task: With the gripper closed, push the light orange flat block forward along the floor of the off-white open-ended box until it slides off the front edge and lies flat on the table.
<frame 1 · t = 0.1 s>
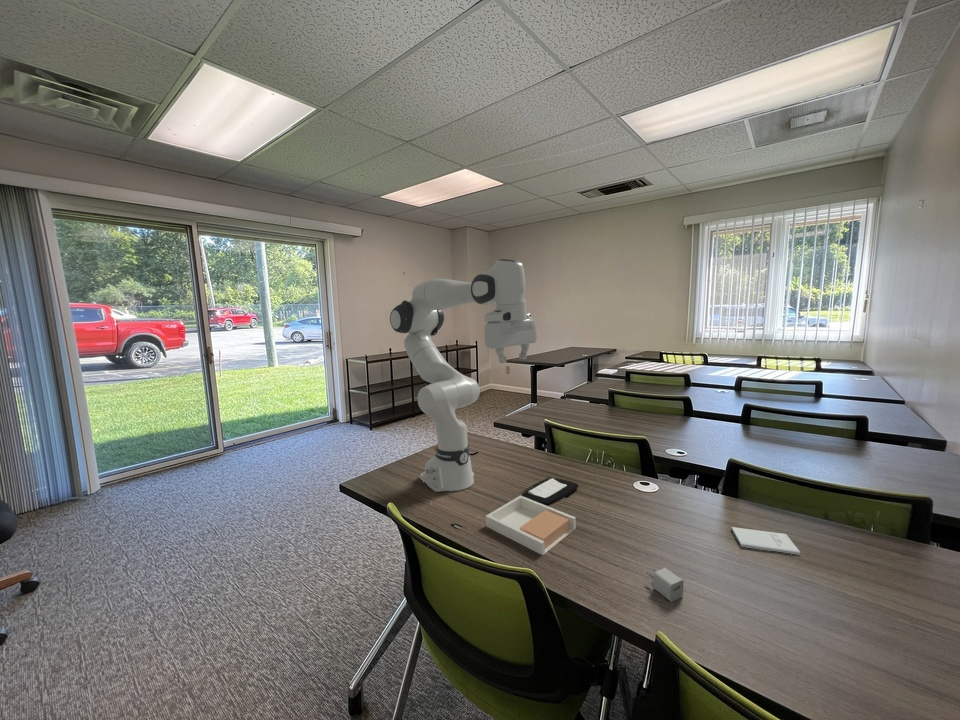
hand: (513, 360, 113), 48 cm above the table, tool pointing down, fingers open, 8 cm apart
external hard drive: (763, 544, 98), on the table
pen: (476, 536, 107), on the table
open box: (530, 529, 108), on the table
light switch: (548, 494, 130), on the table
usb wall charger: (663, 589, 83), on the table
light orange flat block: (544, 533, 104), point 1 cm above the table, touching open box
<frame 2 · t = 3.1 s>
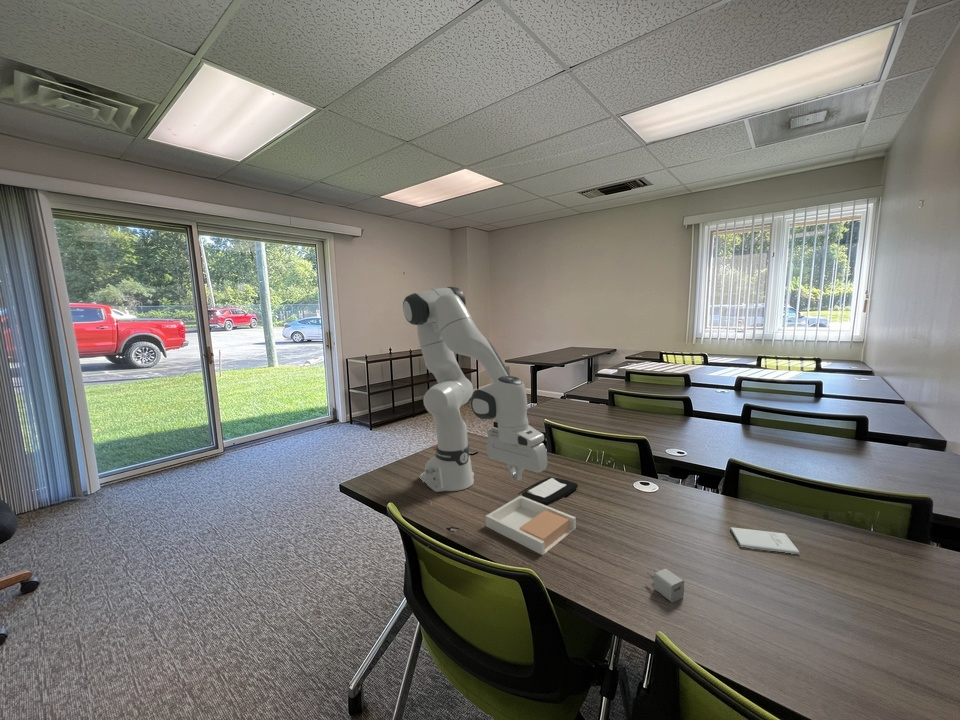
hand: (516, 478, 109), 14 cm above the table, tool pointing down, fingers closed
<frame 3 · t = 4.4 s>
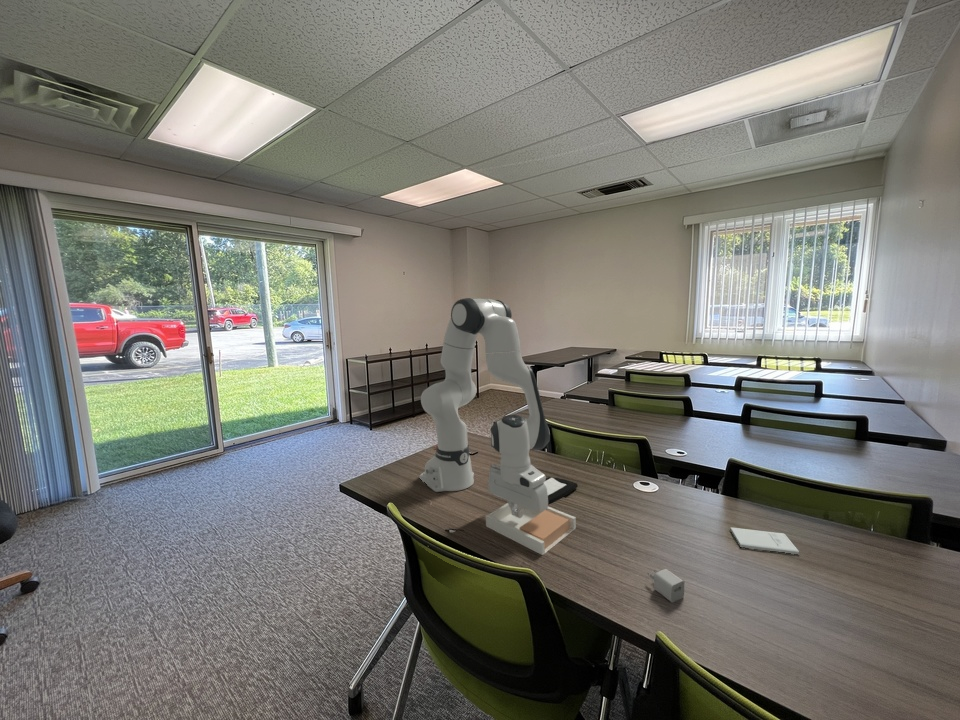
hand: (517, 516, 111), 2 cm above the table, tool pointing down, fingers closed
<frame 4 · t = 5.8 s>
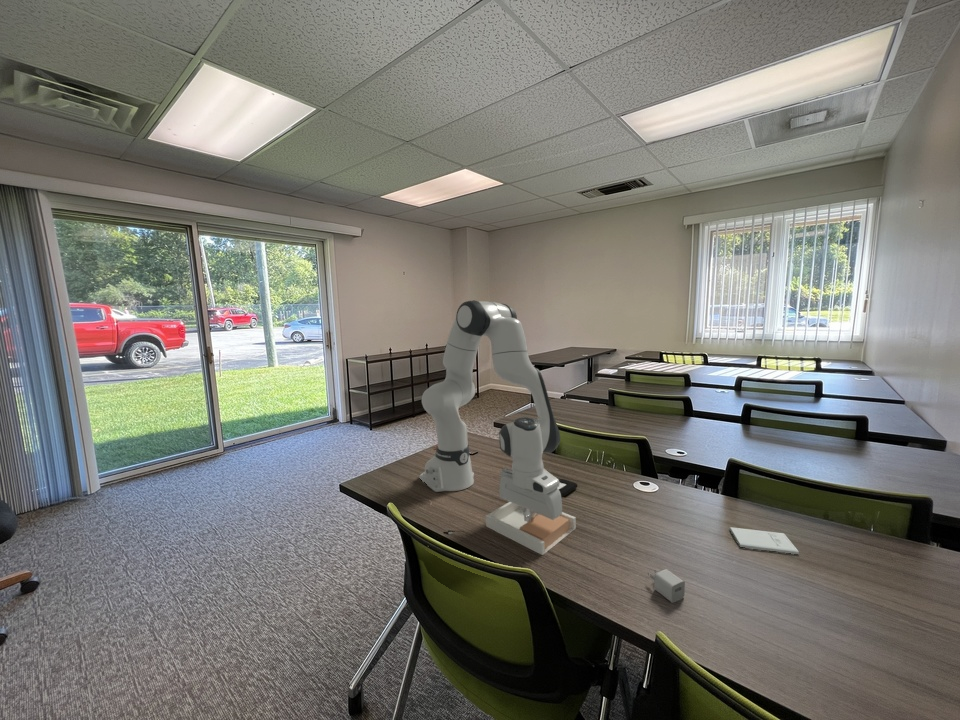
hand: (529, 521, 108), 2 cm above the table, tool pointing down, fingers closed
light orange flat block: (544, 533, 104), point 1 cm above the table, touching gripper
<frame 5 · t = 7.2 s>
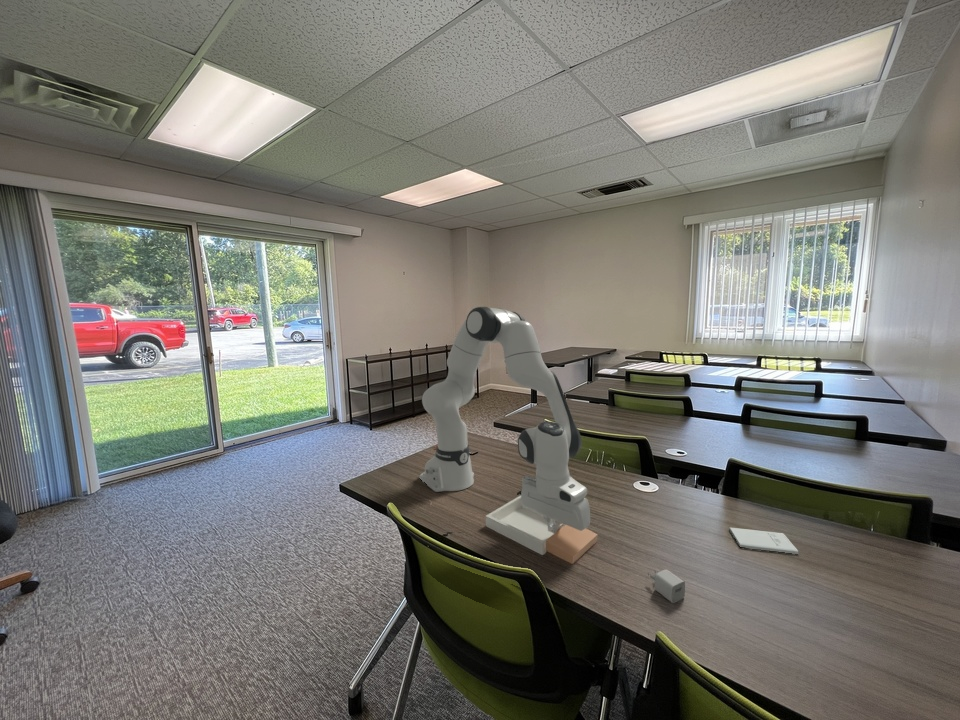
hand: (554, 532, 102), 2 cm above the table, tool pointing down, fingers closed
light orange flat block: (571, 547, 98), on the table, tilted 7°, touching gripper
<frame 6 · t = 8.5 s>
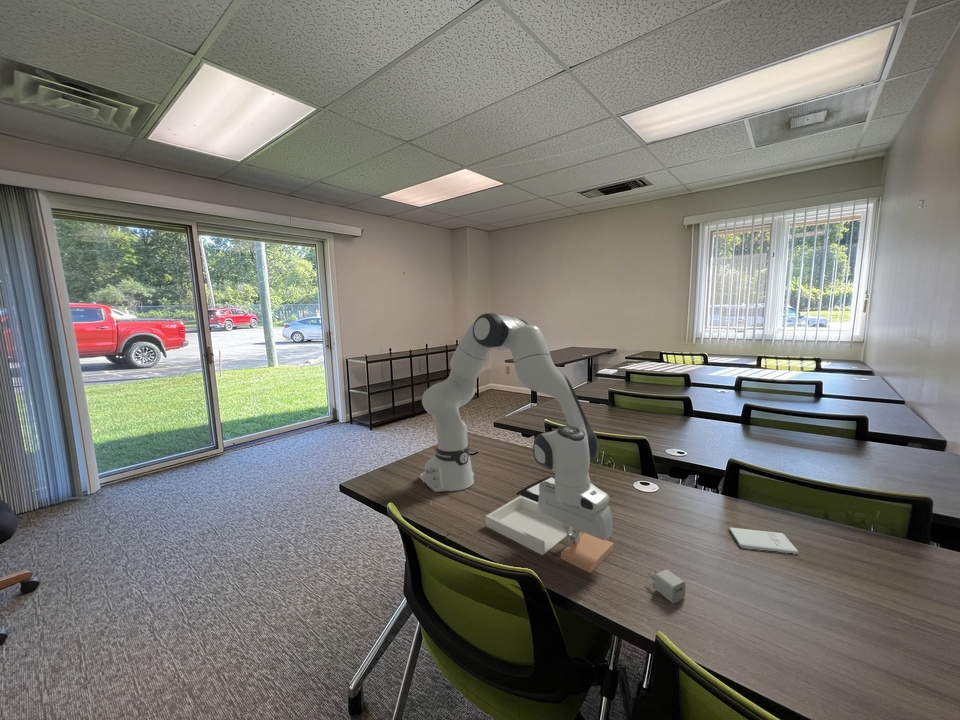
hand: (573, 540, 98), 2 cm above the table, tool pointing down, fingers closed
light orange flat block: (587, 558, 95), on the table, touching gripper
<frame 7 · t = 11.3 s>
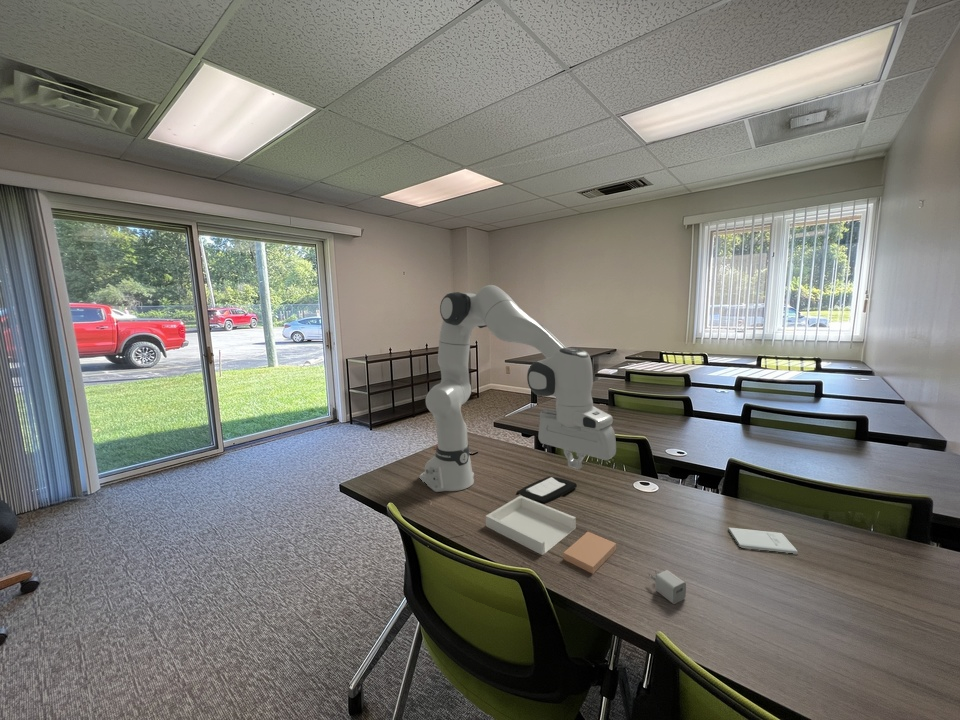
hand: (574, 467, 94), 23 cm above the table, tool pointing down, fingers closed
light orange flat block: (590, 558, 95), on the table
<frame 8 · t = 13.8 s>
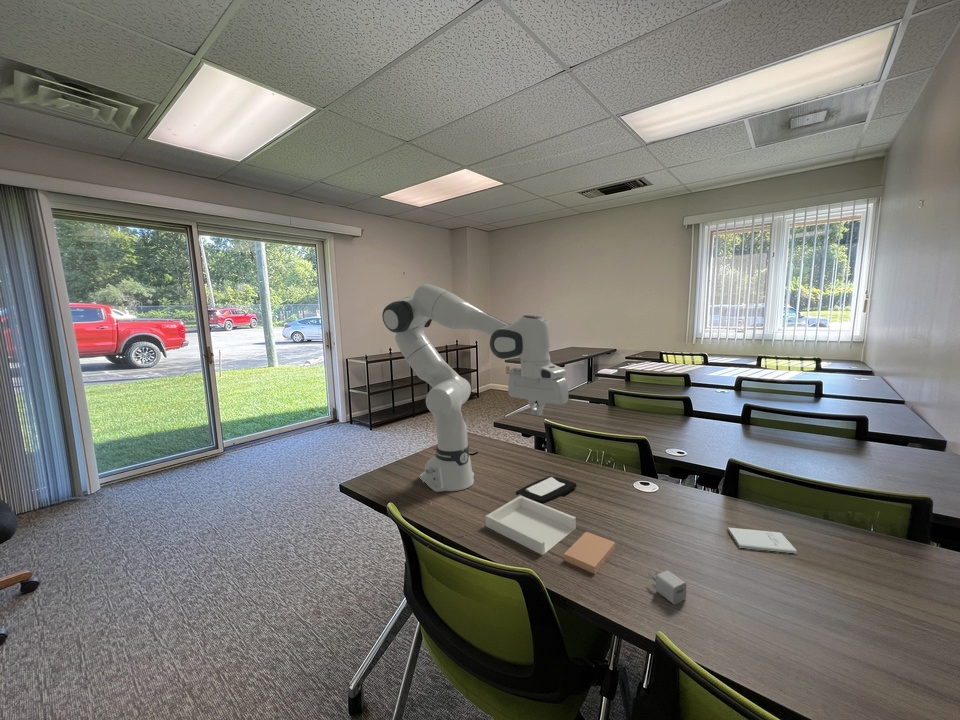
hand: (537, 414, 114), 31 cm above the table, tool pointing down, fingers closed
at the end: light orange flat block inside the target area (2.2 cm from its centre), on the table; light orange flat block touching table; light orange flat block tilted 0° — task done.
